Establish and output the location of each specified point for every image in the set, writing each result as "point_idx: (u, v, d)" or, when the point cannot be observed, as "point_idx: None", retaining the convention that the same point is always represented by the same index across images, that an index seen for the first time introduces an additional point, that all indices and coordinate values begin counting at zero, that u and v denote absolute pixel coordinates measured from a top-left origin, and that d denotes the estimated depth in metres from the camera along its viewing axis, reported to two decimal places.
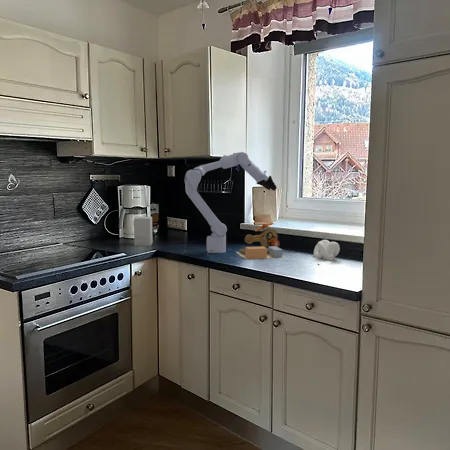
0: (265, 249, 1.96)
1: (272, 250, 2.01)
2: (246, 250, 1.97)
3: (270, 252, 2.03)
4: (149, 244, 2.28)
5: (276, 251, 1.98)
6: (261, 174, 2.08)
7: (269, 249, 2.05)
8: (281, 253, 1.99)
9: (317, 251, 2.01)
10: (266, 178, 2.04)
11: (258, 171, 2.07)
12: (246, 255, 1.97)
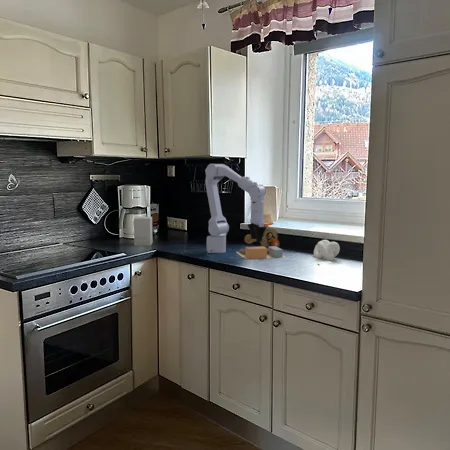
0: (265, 249, 1.96)
1: (272, 250, 2.01)
2: (246, 250, 1.97)
3: (270, 252, 2.03)
4: (149, 244, 2.28)
5: (276, 251, 1.98)
6: (260, 219, 1.93)
7: (269, 249, 2.05)
8: (281, 253, 1.99)
9: (317, 251, 2.01)
10: (261, 225, 1.89)
11: (260, 214, 1.93)
12: (246, 255, 1.97)
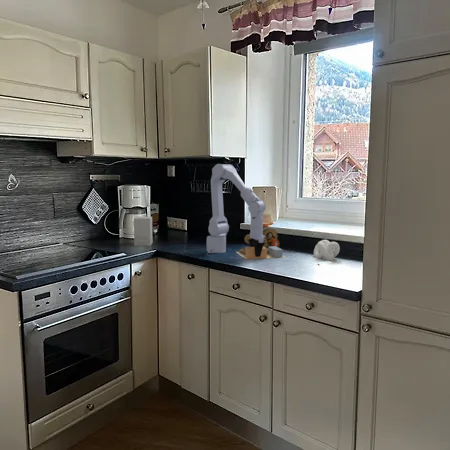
0: (265, 249, 1.96)
1: (272, 250, 2.01)
2: (246, 250, 1.97)
3: (270, 252, 2.03)
4: (149, 244, 2.28)
5: (276, 251, 1.98)
6: (259, 234, 1.94)
7: (269, 249, 2.05)
8: (281, 253, 1.99)
9: (317, 251, 2.01)
10: (261, 240, 1.90)
11: (259, 230, 1.94)
12: (246, 255, 1.97)
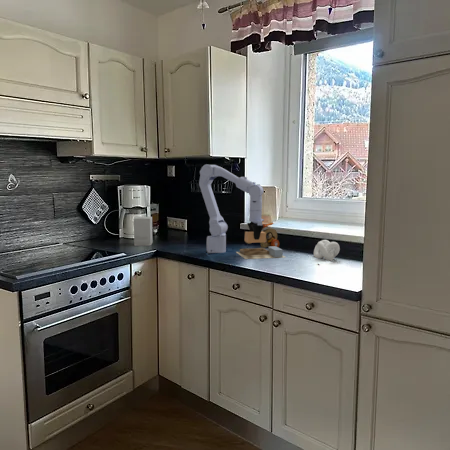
0: (264, 234, 2.01)
1: (272, 250, 2.01)
2: (245, 234, 2.03)
3: (270, 252, 2.03)
4: (149, 244, 2.28)
5: (276, 251, 1.98)
6: (258, 218, 1.99)
7: (269, 249, 2.05)
8: (281, 253, 1.99)
9: (317, 251, 2.01)
10: (260, 223, 1.95)
11: (258, 213, 1.99)
12: (245, 239, 2.03)
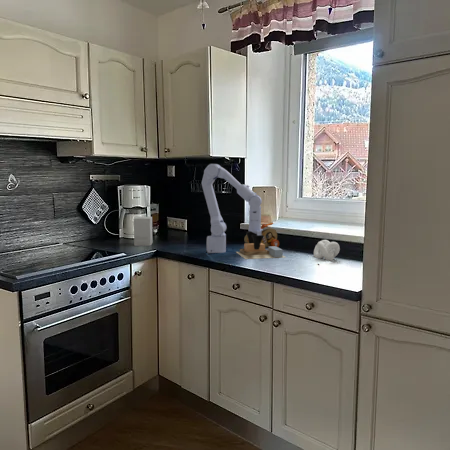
0: (263, 245, 2.06)
1: (272, 250, 2.01)
2: (245, 246, 2.07)
3: (270, 252, 2.03)
4: (149, 244, 2.28)
5: (276, 251, 1.98)
6: (257, 228, 2.04)
7: (269, 249, 2.05)
8: (281, 253, 1.99)
9: (317, 251, 2.01)
10: (259, 233, 1.99)
11: (258, 223, 2.03)
12: None
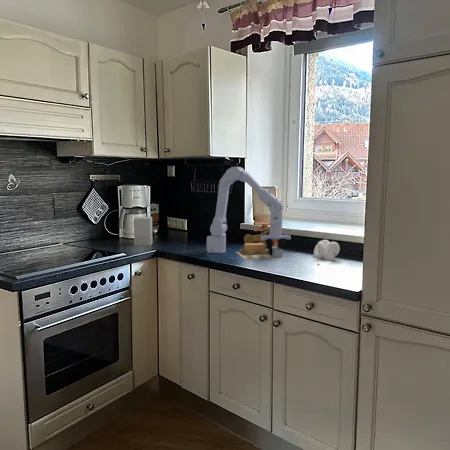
0: (263, 245, 2.06)
1: (272, 250, 2.01)
2: (245, 246, 2.07)
3: None
4: (149, 244, 2.28)
5: (276, 251, 1.98)
6: (270, 234, 2.00)
7: None
8: (281, 253, 1.99)
9: (317, 251, 2.01)
10: (261, 238, 2.00)
11: (271, 229, 2.00)
12: None
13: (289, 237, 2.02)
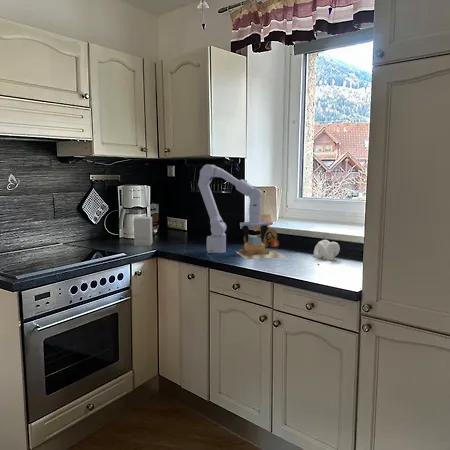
0: (263, 245, 2.06)
1: (251, 239, 2.05)
2: (245, 246, 2.07)
3: (249, 241, 2.07)
4: (149, 244, 2.28)
5: (255, 240, 2.02)
6: (250, 220, 2.04)
7: (248, 238, 2.09)
8: (260, 242, 2.03)
9: (317, 251, 2.01)
10: (240, 225, 2.04)
11: (250, 216, 2.04)
12: None
13: (268, 224, 2.06)
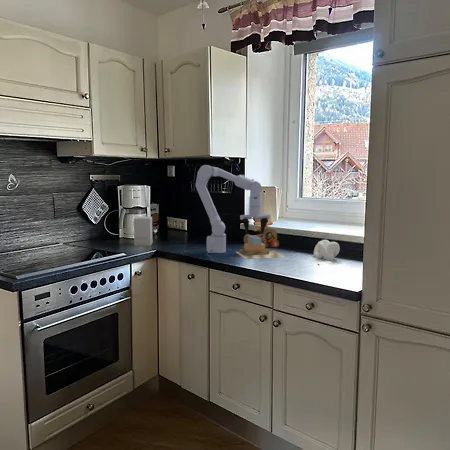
0: (263, 245, 2.06)
1: (251, 239, 2.05)
2: (245, 246, 2.07)
3: (249, 241, 2.07)
4: (149, 244, 2.28)
5: (255, 240, 2.02)
6: (250, 213, 2.06)
7: (248, 238, 2.09)
8: (260, 242, 2.03)
9: (317, 251, 2.01)
10: (240, 217, 2.06)
11: (250, 209, 2.06)
12: None
13: (268, 217, 2.09)
